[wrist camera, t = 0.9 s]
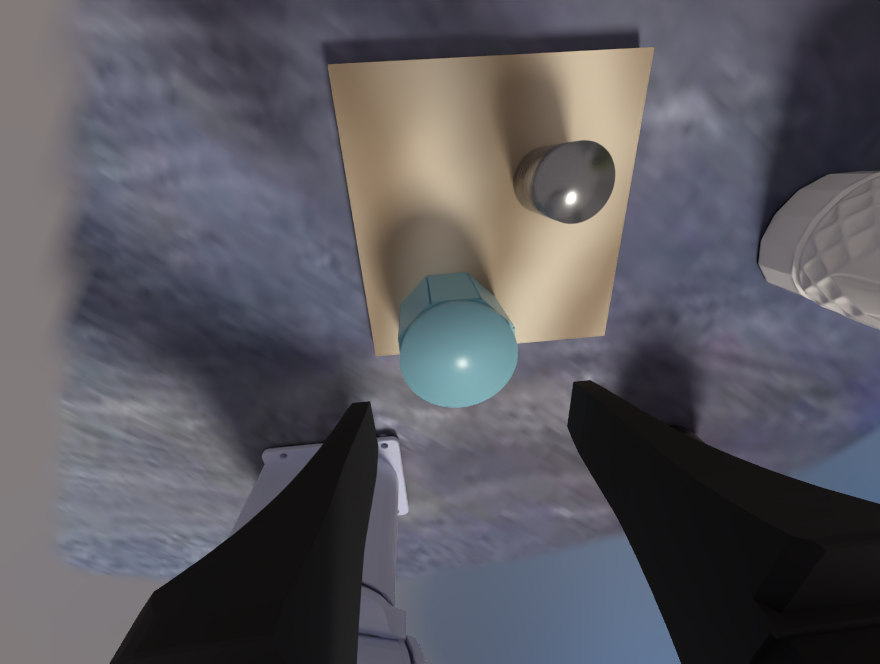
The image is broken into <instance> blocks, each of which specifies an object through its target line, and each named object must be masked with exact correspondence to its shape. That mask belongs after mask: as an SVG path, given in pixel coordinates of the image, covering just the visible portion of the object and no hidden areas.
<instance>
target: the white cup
mask: <svg viewBox="0 0 880 664" xmlns="http://www.w3.org/2000/svg"><path fill="white" fill-rule="evenodd" d="M758 265H759V267H760V269H761V271H762V273H763V275H764V277H765V279H766V281H767V282H769V283H771V284H773V285H776V286H778V287H780V288H782V289H785V290H787V291H790V292H792V293H795V294H798V295H801V296H803V297H806V298H808V299H810V300H813V301H814V302H815V303H816V304H818V305H819V306H822V307H824V308H827V309H830V310H833V311H835V312H837V313H840V314H842V315H844V316H846V317H848V318H851V319H853V320H856V321H858V322H861V323H863V324H866V325H868V326H871V327H874V328H876V329H879V330H880V171H855V172H846V173H836V174H828V175H826V176H824V177H822V178H820V179H818V180H816V181H815V182H813V183H811V184H809V185H807V186H805V187H803V188H802V189H800V190H798V191H797V192H796V193H795V194H794V195H793V196H792V197H791V198H790V199H789V200H788V201H787V202H786V203H785V204H784V205H783V206H782V207H781V208H780V209H779V210H778V211H777V212H776V213H775V215H774V217H773V218H772V220H771V222H770V224H769V226H768V228H767V230H766V232H765V233H764V235H763V237H762V239H761V244H760V252H759V261H758Z"/></svg>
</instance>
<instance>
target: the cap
mask: <svg viewBox="0 0 880 664" xmlns="http://www.w3.org/2000/svg"><path fill="white" fill-rule="evenodd" d="M427 276H428V278H427V277H426V276H425V277H424V278H423V280H422V281H421V282H420V283H419V284H418V285H417V286H416V288H415V289H414V290H413V291H412V292H411V293H410V294H409V296H408V297H407V298H406V299H405V300H404V301H403V302H402V304H401V306H400V317H399V331H398V343H399V351H400V367H401V372H402V375H403V377H404V380H405V381H406V383H407V385H408V386H409V387H410V388H411V390H412V391H413V392H414V393H415V394H417V395H418V396H419V397H421V398H422V399H424V400H426V401H428V402H430V403H432V404H435V405H439V406H443V407H453V408H456V407H466V406H471V405H475V404H478V403H480V402H483V401H485V400H487V399H489V398H490V397H492V396H494V395H495V394H496V393H497V392H499V391H500V390H501V389H502V388H503V387H504V386H505V385H506V383H507V382H508V381H509V379H510V378H511V376H512V374H513V372H514V370H515V367H516V364H517V359H518V346H517V341H516V338H515V327H514V325H513V323H512V322H511V320H510V319H509V317H508V316H507V314H506V313H505V311H504V310H503V308H502V306H501V305H500V303H499V302H498V300H497V299H496V297H495V296H494V295H493V294H492V293H491V292H489V291H488V290H487V289H486V288H485V287H484V286H483V285H481V284H480V283H479V282H478V281H477V280H476V279H475V278H473V277H472V276H471V275H470V274H469V273H468V274H467V273H466V272H462V273H449V274H437V275H427Z"/></svg>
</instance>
